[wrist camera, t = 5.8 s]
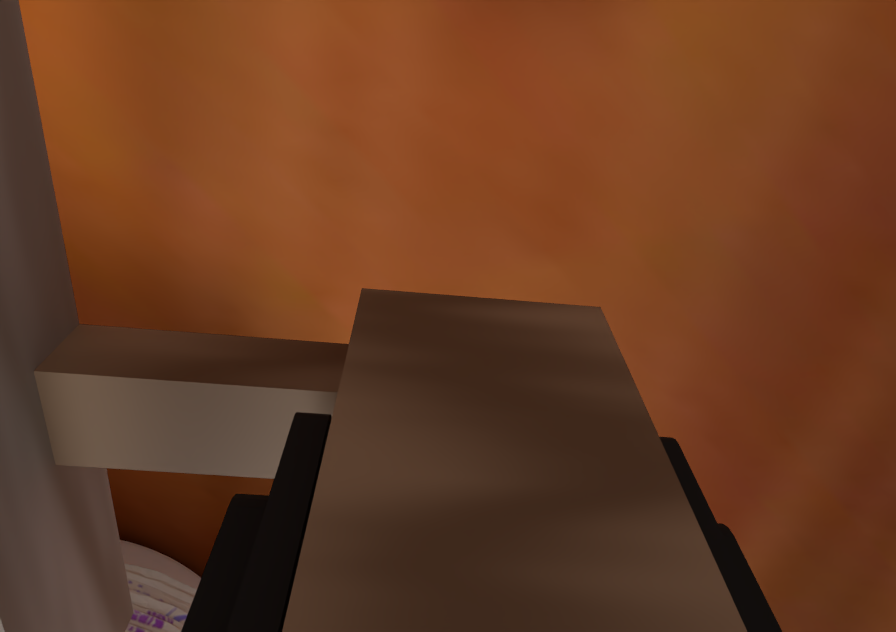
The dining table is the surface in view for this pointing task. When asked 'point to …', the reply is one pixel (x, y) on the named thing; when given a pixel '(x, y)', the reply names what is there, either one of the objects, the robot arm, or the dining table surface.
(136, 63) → the dining table surface
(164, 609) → the paper bowls
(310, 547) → the scraper
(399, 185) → the dining table surface
